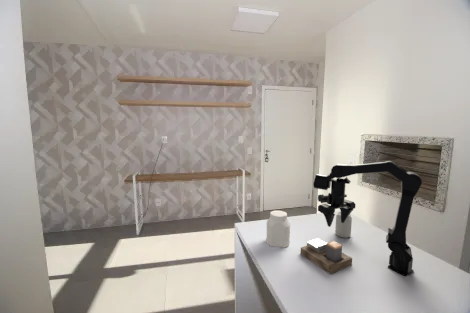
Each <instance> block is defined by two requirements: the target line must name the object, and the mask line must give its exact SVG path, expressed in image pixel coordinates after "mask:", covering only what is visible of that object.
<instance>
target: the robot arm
mask: <svg viewBox="0 0 470 313" xmlns="http://www.w3.org/2000/svg"><path fill="white" fill-rule="evenodd" d="M331 167H332V168H331V169H330V173H329V174H327V175H322V174H318V173H316V174H315V177H314V181H313V184H312V186H313V188H314V189H317V190H322V191H323V190H324V191H328V189H330V192H328V194H327V195H324V194H318V195H317V201H318V202H319V203H320V204H319V205H318V206H317V211H318V212H320V213H321V214H323V216H324V217H325V221H326V225H327V227H329V228H331V226H332V224H333V221H334V219H335V217H336V214H335V212H336V210H338V209H339V211H340V212H341V222H342V223H344V222H345V220H346V219H347V217H348V216H349V214H350V215H351V213H352V211H354V209H356V203H355V202H354V201H351V200H348V199H345V198H348V194H346V184H350V183H351V180H350V179H349V178H348V176H352V175H358V174H370V173H371V174H372V173H385V172H388V173H389V174H391V175H392V176H393V177H395V179H397V180H399V181H400V182H401V183H400V184H401V186H400V187H401V192H400V193H401V195H400V199H399V203H398V209H397V213H396V218H395V222H394V226H393V227H392V229H391V228H390V227H388V229H387V235H386V236H385V237H386V238H385V242H386V243H387V247H388V249H389V250H390V251H391V252H390V254H389V257H388V258H389V259H388V265H387V268H388V269H390V270H392V271H394V272H396V273H398V274H400V275H402V276H404V277H407V276H409V275H411V274H412V273H414V272H415V270H414V269H413V261H414V258H413V254H412V248H411V247H410V245H408V244H407V227H408V224H409V219H410V214H411V211H412V207H413V202H414V199H415V196H416V195H417V193H418V192H419V190H420V188H421V186H422V183H423V182H422V178H421V176H419V174H418V173H416V172H415V171H408V170H406V169H405V168H404V167H402V166H400V165H398V164H396V163H395V162H394V161H391V160H386V161H379V162H372V163H371V162H370V163H369V162H368V163H362V164H361V163H359V164H350V163H337V164H335V165H334V166H331Z"/></svg>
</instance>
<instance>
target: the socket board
mask: <svg viewBox="0 0 470 313" xmlns="http://www.w3.org/2000/svg"><path fill="white" fill-rule="evenodd" d="M300 255H301V256H303V257H304V258H306V259H308V260H309V261H311V262H312V263H314V264H315V265H316V266H317V267H319V268H321V269H322V270H324V271H325V272H327V273H328V274H330V275H332V274H334V273H337V272H339V271H341V270H344V269H345V268H347V267H350V266H352V265H353V257H352V256H349V255H347V254H345V253H344V252H342V257H341V261H339V262H336V263H334V262H332V261H331V260H329V259H327V258H326V251H325V252H322V253H320V254H319V253H317V252H316V251H314V250H312V249H311V248H309V247H308V246H307V245H304V246H302V247H300Z"/></svg>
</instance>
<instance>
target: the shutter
mask: <svg viewBox="0 0 470 313" xmlns="http://www.w3.org/2000/svg"><path fill="white" fill-rule="evenodd" d="M327 243H328V242H325V241H324V240H322V239H320V238H315V239H312V240H308V241H306V246H308V247H309V248H311V249H312V250H314V251H316V252H317V253H319V254H320V253H322V252H325V251H326V244H327Z"/></svg>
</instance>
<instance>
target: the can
mask: <svg viewBox="0 0 470 313" xmlns="http://www.w3.org/2000/svg"><path fill="white" fill-rule="evenodd" d="M352 222H353V218H352V216H351V213H350V214H349V216H348V217H347V219H346V220H345V222H344V223H342V222H341V211H339V212H337V214H335V229H334V232H335V235H336V236H338V237H340V238H344V239H347V238H348V239H349V238H350V237H351V236H352Z"/></svg>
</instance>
